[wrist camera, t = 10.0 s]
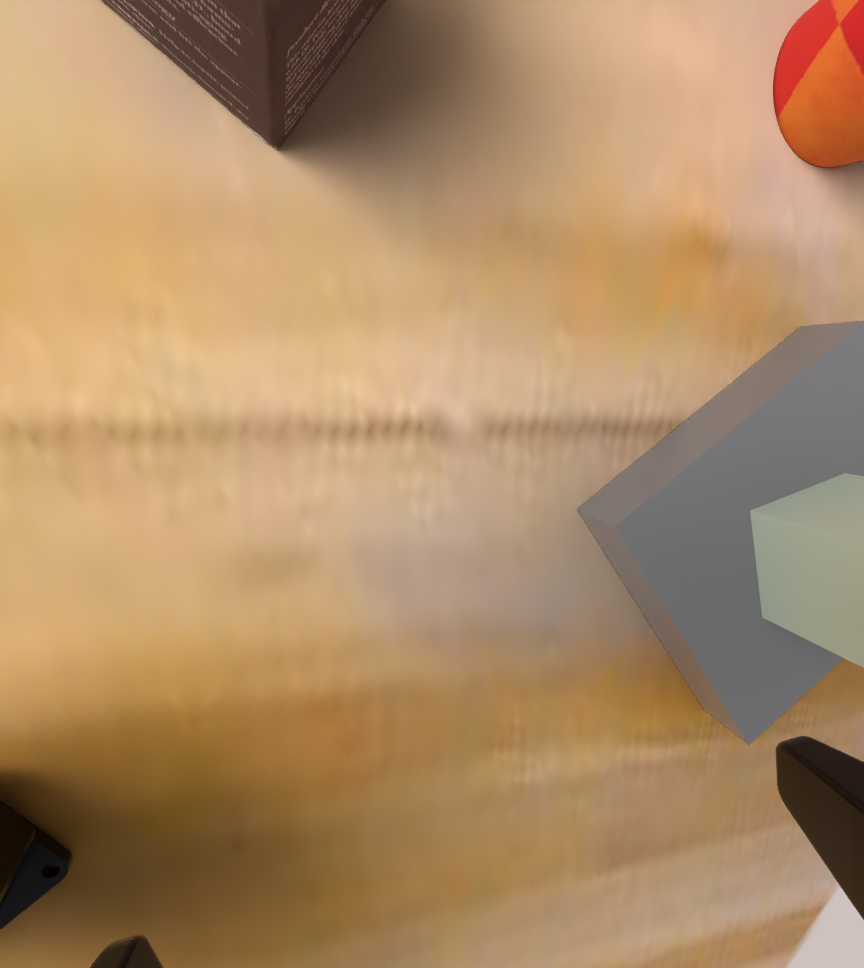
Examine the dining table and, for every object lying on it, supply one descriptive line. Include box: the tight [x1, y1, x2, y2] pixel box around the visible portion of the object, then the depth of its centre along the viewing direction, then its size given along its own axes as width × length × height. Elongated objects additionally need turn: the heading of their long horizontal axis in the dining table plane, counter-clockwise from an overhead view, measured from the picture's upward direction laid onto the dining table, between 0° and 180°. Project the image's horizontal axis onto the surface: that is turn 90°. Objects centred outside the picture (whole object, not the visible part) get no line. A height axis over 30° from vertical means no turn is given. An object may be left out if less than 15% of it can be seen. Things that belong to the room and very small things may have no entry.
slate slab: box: [577, 321, 864, 745], centre depth 22 cm, size 12×12×2 cm
